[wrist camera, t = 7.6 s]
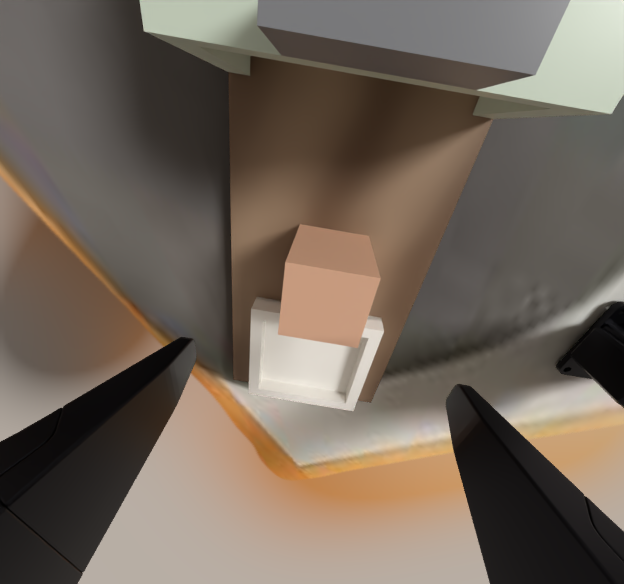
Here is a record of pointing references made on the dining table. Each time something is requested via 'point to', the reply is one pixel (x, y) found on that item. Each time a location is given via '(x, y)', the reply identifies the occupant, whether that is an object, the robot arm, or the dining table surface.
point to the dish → (307, 362)
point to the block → (328, 286)
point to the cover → (422, 45)
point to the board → (342, 181)
